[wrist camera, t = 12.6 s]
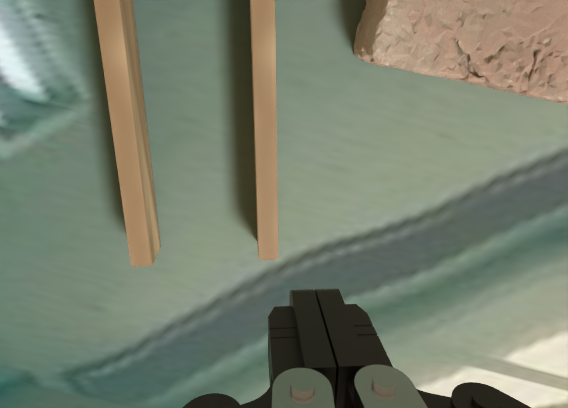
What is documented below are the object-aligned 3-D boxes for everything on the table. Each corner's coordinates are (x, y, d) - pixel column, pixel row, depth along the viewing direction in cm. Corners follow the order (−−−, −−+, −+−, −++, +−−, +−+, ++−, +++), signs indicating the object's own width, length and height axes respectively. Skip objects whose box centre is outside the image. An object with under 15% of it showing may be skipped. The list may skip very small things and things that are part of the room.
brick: (349, 62, 31) (367, 61, 27) (377, -63, 29) (402, -87, 24) (541, 101, 34) (587, 107, 29) (582, -10, 31) (639, -23, 27)
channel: (268, -167, 26) (272, -201, 23) (274, 241, 35) (278, 259, 32) (87, -174, 25) (63, -211, 22) (142, 247, 34) (131, 266, 31)
